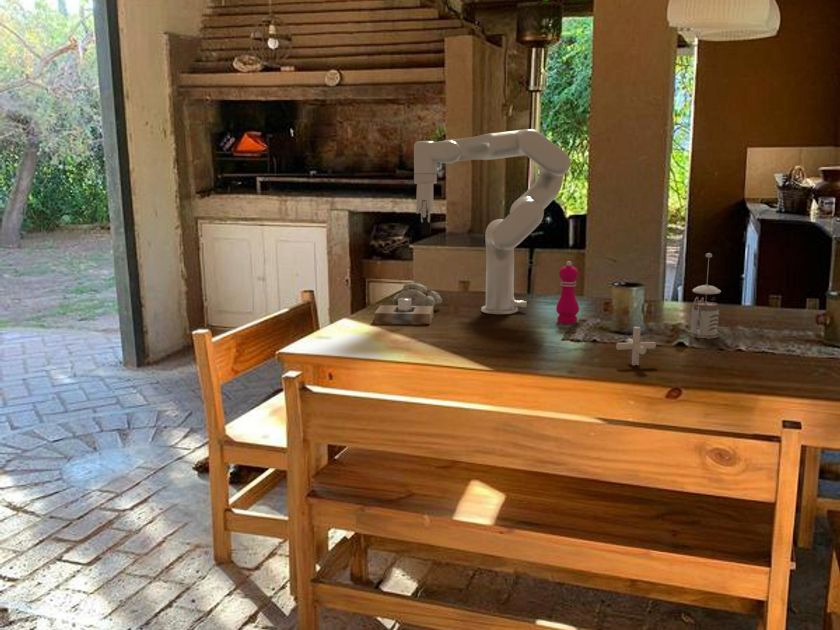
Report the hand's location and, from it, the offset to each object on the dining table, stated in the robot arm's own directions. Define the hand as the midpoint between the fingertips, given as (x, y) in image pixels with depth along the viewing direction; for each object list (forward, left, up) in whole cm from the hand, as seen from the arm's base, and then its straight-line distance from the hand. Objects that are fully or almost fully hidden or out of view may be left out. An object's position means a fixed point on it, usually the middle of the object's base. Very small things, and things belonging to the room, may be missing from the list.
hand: (425, 234), depth 279 cm
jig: (+6, +12, -27) cm, 30 cm away
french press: (-86, +27, -27) cm, 94 cm away
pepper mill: (-47, +11, -27) cm, 55 cm away
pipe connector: (-61, +62, -27) cm, 91 cm away
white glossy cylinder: (+6, +11, -27) cm, 30 cm away
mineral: (+4, -7, -27) cm, 29 cm away
